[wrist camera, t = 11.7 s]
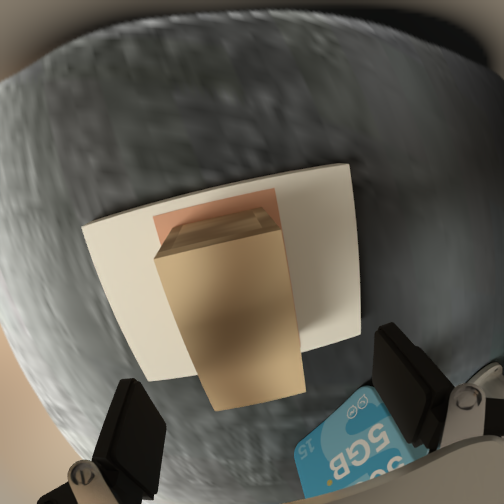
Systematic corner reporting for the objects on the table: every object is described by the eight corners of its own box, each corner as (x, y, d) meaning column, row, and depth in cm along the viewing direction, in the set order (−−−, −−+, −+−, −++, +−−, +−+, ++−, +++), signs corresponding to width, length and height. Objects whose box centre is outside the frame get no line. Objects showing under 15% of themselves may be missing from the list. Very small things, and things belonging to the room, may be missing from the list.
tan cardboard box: (261, 206, 15) (281, 229, 11) (286, 339, 18) (305, 391, 14) (172, 227, 15) (153, 259, 11) (213, 355, 18) (214, 411, 14)
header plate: (338, 163, 17) (349, 164, 15) (352, 323, 21) (361, 334, 19) (91, 221, 16) (80, 227, 15) (151, 368, 20) (148, 382, 19)
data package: (366, 378, 23) (425, 476, 12) (392, 386, 24) (447, 471, 13) (290, 447, 26) (314, 537, 15) (319, 451, 27) (347, 532, 16)
